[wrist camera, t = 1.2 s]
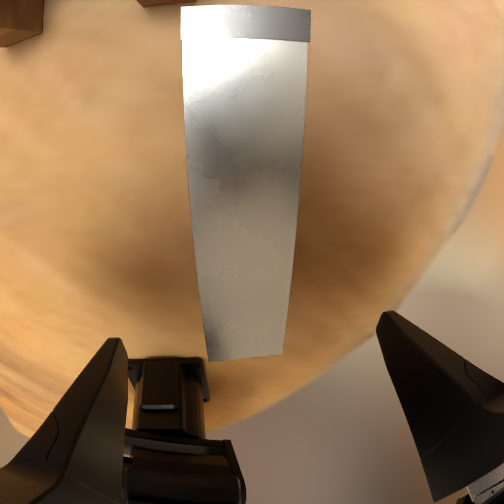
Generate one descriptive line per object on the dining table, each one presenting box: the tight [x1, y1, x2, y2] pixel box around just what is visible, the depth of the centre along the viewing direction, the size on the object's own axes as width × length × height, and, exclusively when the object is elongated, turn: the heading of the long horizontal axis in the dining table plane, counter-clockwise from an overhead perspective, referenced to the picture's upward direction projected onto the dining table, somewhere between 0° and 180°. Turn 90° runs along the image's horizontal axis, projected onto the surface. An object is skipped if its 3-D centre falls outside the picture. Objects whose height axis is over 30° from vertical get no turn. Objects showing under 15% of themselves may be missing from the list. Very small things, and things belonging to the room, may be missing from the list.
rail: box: [181, 5, 311, 361], centre depth 14 cm, size 16×4×5 cm, turn 179°
